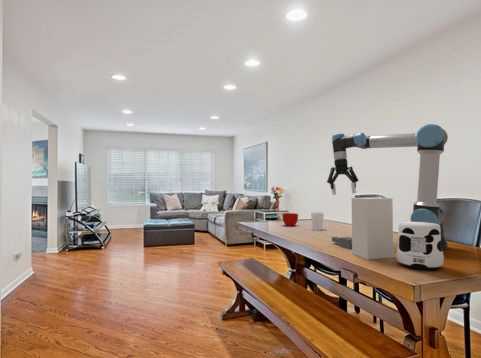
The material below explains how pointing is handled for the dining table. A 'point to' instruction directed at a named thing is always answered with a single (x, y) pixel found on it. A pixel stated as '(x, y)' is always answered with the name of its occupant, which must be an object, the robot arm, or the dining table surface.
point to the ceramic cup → (290, 219)
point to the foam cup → (317, 220)
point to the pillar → (372, 227)
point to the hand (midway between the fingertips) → (344, 194)
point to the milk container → (420, 245)
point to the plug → (343, 241)
